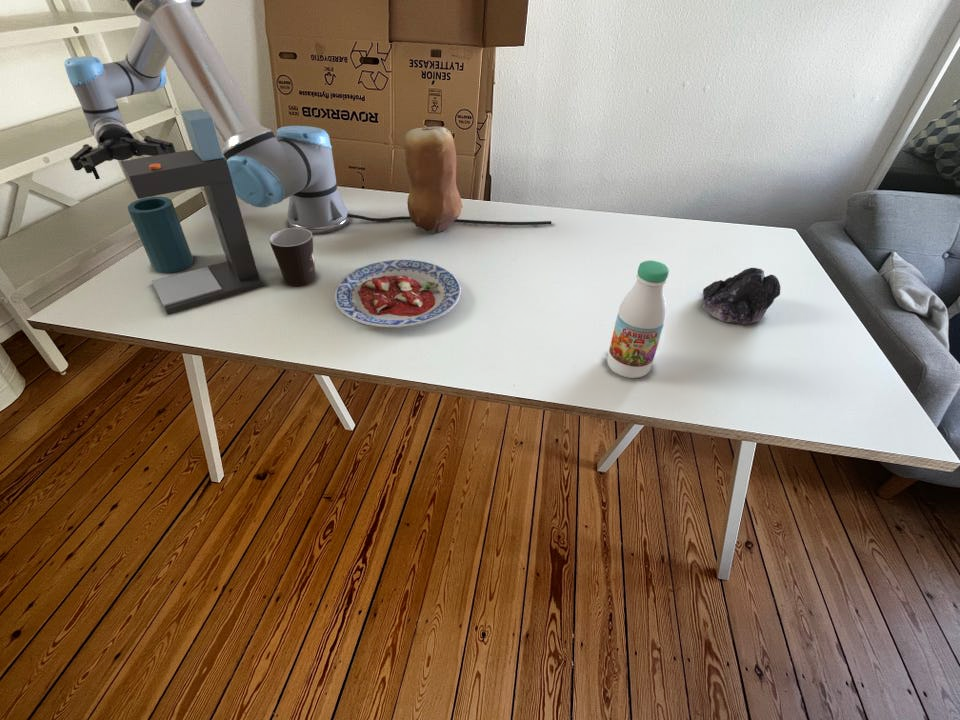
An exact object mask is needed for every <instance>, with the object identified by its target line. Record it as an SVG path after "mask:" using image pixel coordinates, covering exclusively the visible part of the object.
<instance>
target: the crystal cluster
mask: <svg viewBox="0 0 960 720" xmlns="http://www.w3.org/2000/svg"><path fill="white" fill-rule="evenodd" d="M781 287H782V286H781V283H780V281H779V279H778V277H777V276H776V275H774V274H769V275H766V276H765V271H764V270H763V269H762V268H758V267H749V268H745V269H743V270H742V271H741V272H739V273H737V274H735V275H733V276H732V277H731V276H730V277H728V278H726V279H725V280H722V279H720V280H716V281H713V282H712V283H710V284H709V285H707V286H705V287H704V288H703V290H702V296H703V305H702V308H703V309H704V310H705V311H707V312H708V313H709V314H710V315H711V316H712V317H713V318H715V319H717V320H719V321H721V322H724V323H731V324H743V325H745V324H752V323H757V322H760V321H761V320H762V318H763V317H764V316H765V314H766V312H767V311H768V309H769V308H770V307H771V306H772V305H773V303H774V301H775V299H776V298H778V297H779V296H780V295H781Z"/></svg>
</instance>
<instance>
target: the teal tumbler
mask: <svg viewBox="0 0 960 720" xmlns="http://www.w3.org/2000/svg"><path fill="white" fill-rule="evenodd" d="M127 211H128V213H129V215H130V218H131V221H132V223H133V225H134V227H135V230H136V232H137V235H138V237H139V240H140V242H141V243H142V246H143V248H144V250H145V253H146V255H147V258H148V260H149V262H150V265H151V267H152V268H153V270H154V271H155V272H156V273H161V274H172V273H177V272H182V271H185V270H186V269H188V268H189V267H191V266H192V265H193V263H194V257H193V255H192V252H191V250H190V249H191V248H190V246H189V244H188V240H187V238H186V236H185V233H184V230H183V228H182V225H181V222H180V219H179V217H178V214H177V211H176V209H175V206H174V202H173V200H172V198H169V197H166V196H153V197H146V198H141V199H137V200H134V201H132V202H130V203H129V204H128V206H127Z"/></svg>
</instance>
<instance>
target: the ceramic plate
mask: <svg viewBox="0 0 960 720" xmlns="http://www.w3.org/2000/svg"><path fill="white" fill-rule="evenodd" d="M461 293H462V288H461V284H460V282H459V280H458V278H457V277H456V276H455V275H454V274H453V273H452V272H451V271H449V270H447V269H446V268H445V267H442V266H440V265H439V264H438V265H437V264H434V263H430V262H427V261H423V260H415V259H390V260H384V261H383V260H382V261H377V262H372V263H370V264H367V265H364V266H361V267H359V268H356V269H355V270H353V271H351V272H349V273H348V274H347V275H345V276H344V277H343V278H342V279H341V280H340V281H339V282H338V284H337V285H336V287H335V289H334V293H333V299H334V304H335V305H336V307H337V309H338V310H339V311H340V312H341V313H342V314H343V315H344V316H346V317H347V318H349V319H350V320H352V321H355V322H357V323H360V324H362V325H367V326H370V327H377V328H387V329H388V328H390V329H391V328H393V329H395V328H408V327H414V326H418V325H423V324H427V323H429V322H432V321H435V320H437V319H439V318H441V317H442V316H444V315H446V314H448V312H450V311H451V310H453V308H454V307H455V306H456V305H457V304H458V302H459V300H460V298H461Z"/></svg>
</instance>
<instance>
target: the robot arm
mask: <svg viewBox="0 0 960 720" xmlns="http://www.w3.org/2000/svg"><path fill="white" fill-rule="evenodd" d="M122 1H125V0H122ZM205 1H206V0H126V2H127V3H128V4H129V6H130V8H131V9H132V11H133V13H134V14H135V16H136V17H137V18H139V19H140V22H139V25H138V27H137V30H136V32H135V33H134V37H133V39H132V41H131V43H130V46H129V48H128V50H127V53H126V54H125V57H124V59H123V60H118V61H112V62H106V63H102V61H101V60H100V58H98V57H97V56H93V55H92V56H91V55H88V56H87V55H85V56H84V55H83V56H82V55H81V56H73V57H68V58H67V59H65V60H64V63H63V64H64V67H65V71H66V74H67V78H68V80H69V83H70V84H71V86H72V89H73V90H74V93H75V95H76V97H77V99H78V102H79V105H80V106H81V110H82V113H83V115H84V117H85V120H86V122H87V126H88V128H89V132H90V133H91V135H93V136H94V139H95V142H97V146H92V145H90V144H88V143H85V144H83V145H82V148H81V149H79V150H78V151H77V152H76V153H74V154H73V155H72V156H70V157H69V161H70V163H71V165H72V167H73V169H74V171H81V170H82V169H84V171H85V173H86V174H93V176H94V178H95V180H101V177H100V175H99V172H98V170H97V169H96V167H98V166H99V165H101V164H103V163H105V162H111V161H113V160H116V161H125V160H130V159H131V158H133V157H143V156H148V157H150V156H156V155H163V154H169V153H175V152H177V151H176V149H175V146H174V143H173V142H170V141H166V140H163V139H162V140H161V139H158V138H153V137H151V136H150V135H145V136H144V137H143V140H139V139H137V138H135V137H134V136H133V134H132V133H131V131H130V129H128V128H127V126H126V124H125V121H124V119H123V116H122V113H121V110H120V107H119V105H118V101H117V100H118V99H122V98H126V97H131V96H135V95H139V94H145V93H148V92H149V93H151V92H155V91H158V90H159V89H162V88H164V87H165V86H166V84H167V73H166V70H165V68H164V67H165V66H166V64H167V62H168V60H169V58H171V59H172V60H173V62H174V64H175V66H176V67H177V69H178V71H179V72H180V74H181V75H182V77H183V78H184V80H185V82H186V83H187V85H188V87H189V89H190V90H191V91H192V93H193V95H194V96H195V98H196V99H197V101H198V103H199V104H200V106H201V109H202V110H204V111H205V112H206V113H207V114H208V115H209V116H211V117H212V119H213V122H214V126H215V129H216V133H217V134H218V135H219V137H220V138H221V140H222V142H223V149H222V154H223V157H224V158H225V159H226V160H227V163H228V167H229V170H230V174H231V178H232V183H233V186H234V190H235V194H236V197H237V198H239V199H240V200H241V201H243V202H244V203H246V204H247V205H250V206H252V207H254V208H260V209H261V208H268V207H271V206H273V205H277V204H279V203H281V202H283V201H284V200H286V199H288V198H289V200H288V209H287V222H288V225H289V228H304V229H307V230H309V231H311V233H312V235H313V234H326V233H330V232H334V231H337V230H339V229H342V228H343V227H345V226H346V225H347V224H348V223H349V221H350V218H352V219H357V220H364V221H367V222H368V221H369V222H391V221H403V220H404V221H406V220H407V221H409V220H410V221H412V219H411V218H410V216H409V215H408V216H407V215H406V216H404V215H403V216H391V217H377V218H376V217H368V216H364V215H358V214H352V213H349V210H348V207H347V206H346V204H345V202H344V199H343V198H342V196H341V194H340V192H339V190H338V184H337V177H336V171H335V163H334V156H333V150H332V149H333V146H332V145H331V140H330V135H329V134H328V132H327V131H326V130H325V129H323V128H320V127H315V126H307V125H288V126H282V127H279V128H277V130H276V135H275V134H274V131H273V130H272V129H270V128H267V127H265V126H263V125H262V124H260V121H259V120H258V118H257V116H256V114H255V113H254V111H253V110H252V108H251V106H250V104H249V103H248V101H247V99H246V98H245V96H244V94H243V93H242V91H241V89H240V87H239V86H238V84H237V82H236V80H235V79H234V77H233V75H232V73H231V71H230V69H228V66H227V65H226V63H225V61H224V60H223V58H222V56H221V54H220V53H219V51H218V49H217V47H216V46H215V44H214V42H213V40H212V39H211V37H210V35H209V34H208V32H207V30H206V28H205V26H204V25H203V23H202V21H201V20H200V18H199V17H198V15H197V13H196V11H195V8H200V7H202V6H203V5H204V3H205ZM453 223H459V224H475V225H477V224H478V225H495V226H496V225H497V226H540V225H541V226H543V225H552V220H544V221H541V220H540V221H498V220H497V221H496V220H479V219H478V220H476V219H465V218H464V219H461V218H457V219H456V220H455V221H454V222H453Z"/></svg>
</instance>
